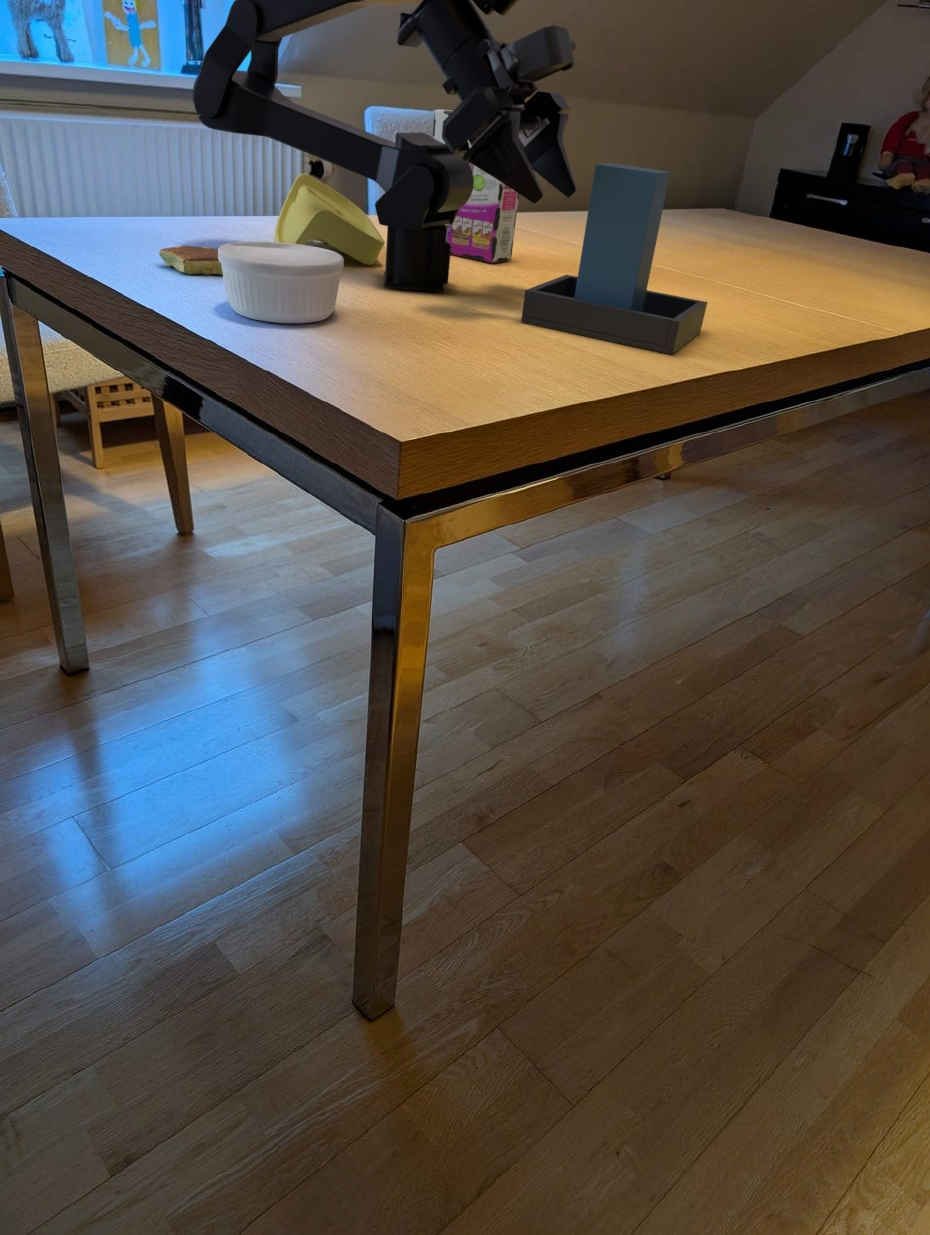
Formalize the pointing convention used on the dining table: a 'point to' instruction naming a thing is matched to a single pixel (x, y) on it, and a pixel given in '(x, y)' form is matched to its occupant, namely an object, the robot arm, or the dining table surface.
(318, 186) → the plastic component
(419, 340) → the dining table surface
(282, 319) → the ramekin
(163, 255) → the brown and green slab
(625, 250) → the blue rectangular block
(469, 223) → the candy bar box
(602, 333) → the dark grey tray
